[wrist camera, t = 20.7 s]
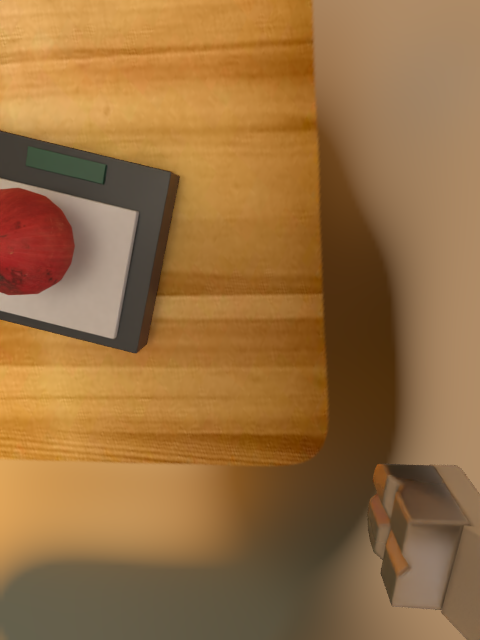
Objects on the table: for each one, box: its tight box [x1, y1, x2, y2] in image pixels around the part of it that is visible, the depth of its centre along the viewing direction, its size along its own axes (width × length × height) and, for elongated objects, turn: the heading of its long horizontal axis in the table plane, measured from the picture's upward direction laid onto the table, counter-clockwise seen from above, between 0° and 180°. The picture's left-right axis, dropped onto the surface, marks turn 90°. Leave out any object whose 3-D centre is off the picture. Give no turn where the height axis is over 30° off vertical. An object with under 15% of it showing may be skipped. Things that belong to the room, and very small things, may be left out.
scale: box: [0, 131, 180, 353], centre depth 30 cm, size 13×12×3 cm
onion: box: [0, 188, 75, 295], centre depth 25 cm, size 6×6×8 cm
